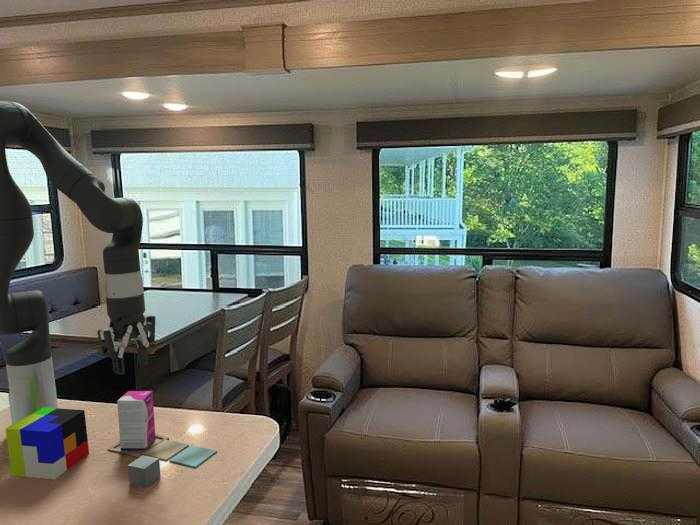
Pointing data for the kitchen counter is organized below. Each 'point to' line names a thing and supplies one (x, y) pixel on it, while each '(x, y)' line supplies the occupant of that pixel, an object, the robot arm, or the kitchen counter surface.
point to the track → (173, 452)
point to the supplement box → (136, 420)
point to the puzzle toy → (47, 442)
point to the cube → (144, 471)
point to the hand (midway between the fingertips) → (131, 368)
